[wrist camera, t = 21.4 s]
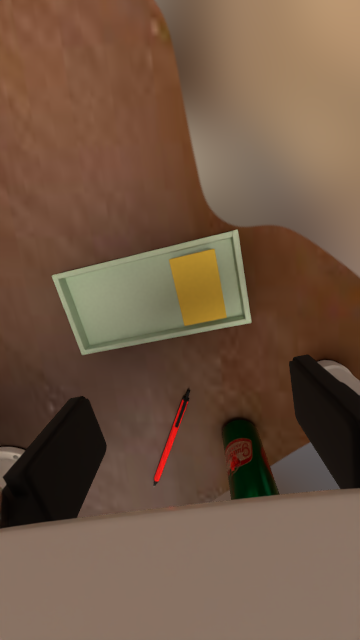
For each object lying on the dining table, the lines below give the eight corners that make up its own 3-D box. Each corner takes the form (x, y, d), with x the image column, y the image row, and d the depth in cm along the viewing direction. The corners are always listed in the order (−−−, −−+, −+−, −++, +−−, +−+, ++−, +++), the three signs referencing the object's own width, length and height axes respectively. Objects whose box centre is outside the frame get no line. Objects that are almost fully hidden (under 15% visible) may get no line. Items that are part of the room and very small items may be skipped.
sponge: (186, 316, 27) (184, 326, 23) (172, 258, 25) (168, 259, 22) (222, 308, 27) (227, 317, 23) (211, 248, 25) (214, 248, 21)
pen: (192, 389, 31) (191, 394, 30) (157, 484, 37) (155, 491, 36) (185, 387, 31) (185, 392, 30) (151, 482, 37) (150, 489, 36)
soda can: (240, 410, 31) (265, 501, 20) (264, 431, 32) (301, 530, 21) (214, 430, 33) (224, 526, 21) (238, 450, 33) (260, 553, 22)
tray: (89, 348, 30) (81, 355, 28) (61, 273, 27) (51, 275, 25) (247, 317, 27) (251, 322, 25) (234, 231, 25) (237, 229, 23)
